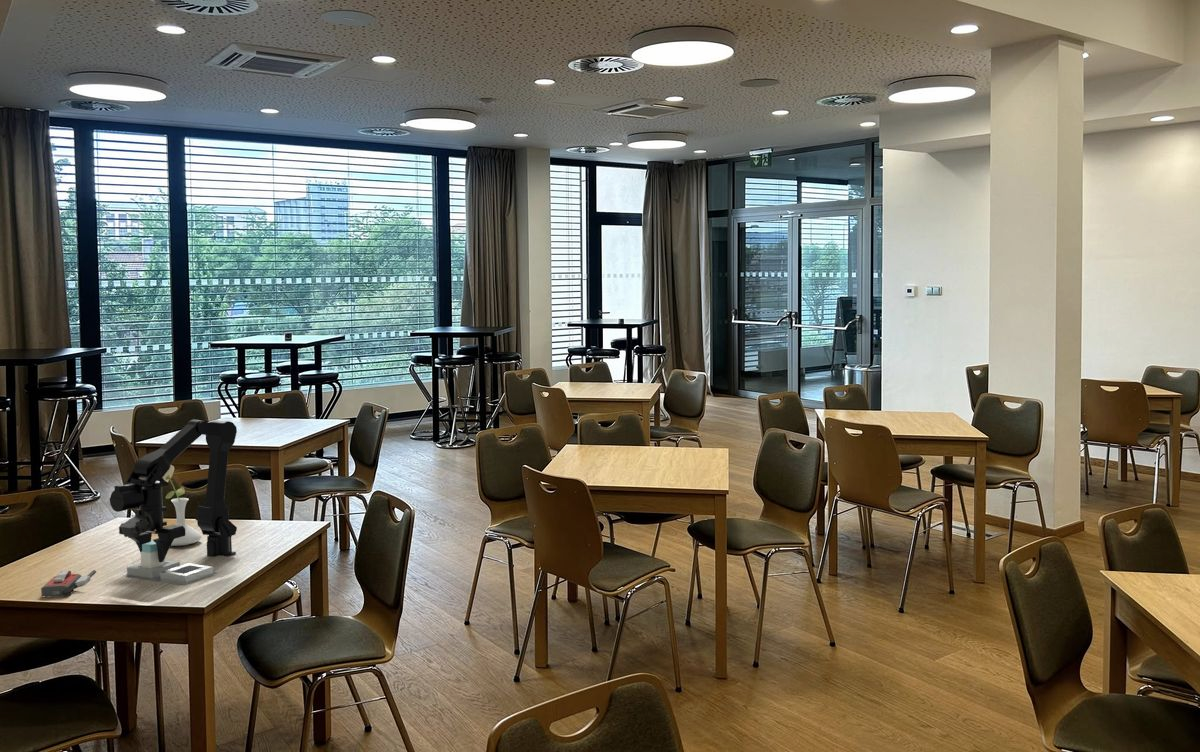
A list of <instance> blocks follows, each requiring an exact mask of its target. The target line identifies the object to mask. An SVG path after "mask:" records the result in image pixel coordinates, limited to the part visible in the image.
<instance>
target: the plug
mask: <svg viewBox="0 0 1200 752" xmlns="http://www.w3.org/2000/svg"><path fill="white" fill-rule="evenodd" d="M166 560H167V558H165V559H164V561H163V562H159V559H158V551H157V544H156V543H155V542H154V541H153V540H151V542H149V543H145V544H142V552H141V553H140V563H141V567H142V568H149V569H151V568H155V567H158V566H161V565H164V564H166Z"/></svg>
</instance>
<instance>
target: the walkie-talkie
mask: <svg viewBox="0 0 1200 752" xmlns="http://www.w3.org/2000/svg"><path fill="white" fill-rule="evenodd" d="M96 573H97V571H96V569H93V570H92V571H91V572H89V573H88V575H84V576H82V575H81V574H80V573H72V571H71V570H61V571H60V572H59V573H57V574H56V576H53V577H52V578H51V579H50V580H49V581H48V582H47V583H45V584H44V585H43V586H42V587H41V588H40V590H41V591H40V592H41V593H40V594H41V597H42V596H58V597H68V596H70V595H71V594H72V593H73V592H74V591H75V589H77V588H79V587H81V586H85V585H86V584H87V583H88V582H89V581H91V578H92V577H93V576H94V575H95V574H96ZM69 594H70V595H69ZM67 595H68V596H67Z"/></svg>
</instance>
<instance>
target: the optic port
mask: <svg viewBox="0 0 1200 752" xmlns="http://www.w3.org/2000/svg"><path fill="white" fill-rule="evenodd" d="M213 572H214V566H211V565H203V564H196V563H190V562H188V563H185V564H182V565H180V566H178V567H175V568H172V569H168V570H165V571H162V572H160V580H166V581H173V582H179V583H188V584H190V583H189V582H191V583H193V582H192V581H194V580H197V579H200V578H203V577H206V576H208V577H210V576H209V575H211V576H213V575H212V574H213ZM206 578H207V577H206ZM203 579H204V578H203ZM200 580H201V579H200ZM197 581H198V580H197ZM194 582H195V581H194Z"/></svg>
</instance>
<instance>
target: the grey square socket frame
mask: <svg viewBox="0 0 1200 752" xmlns="http://www.w3.org/2000/svg"><path fill="white" fill-rule="evenodd" d="M180 564H181V562H180V561H175V560H167V559H166V564H164V565H161V566H158V567H155V568H151V569H149V568H142V567H141V562H140V563H137V564H134V565H133V564H132V565H130V566H126V574H127V575H133V576H139V577H146V578H155V577H158V576H160V572H162V571H165V570H168V569H172V568H175V567H178V566H181V565H180Z"/></svg>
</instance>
